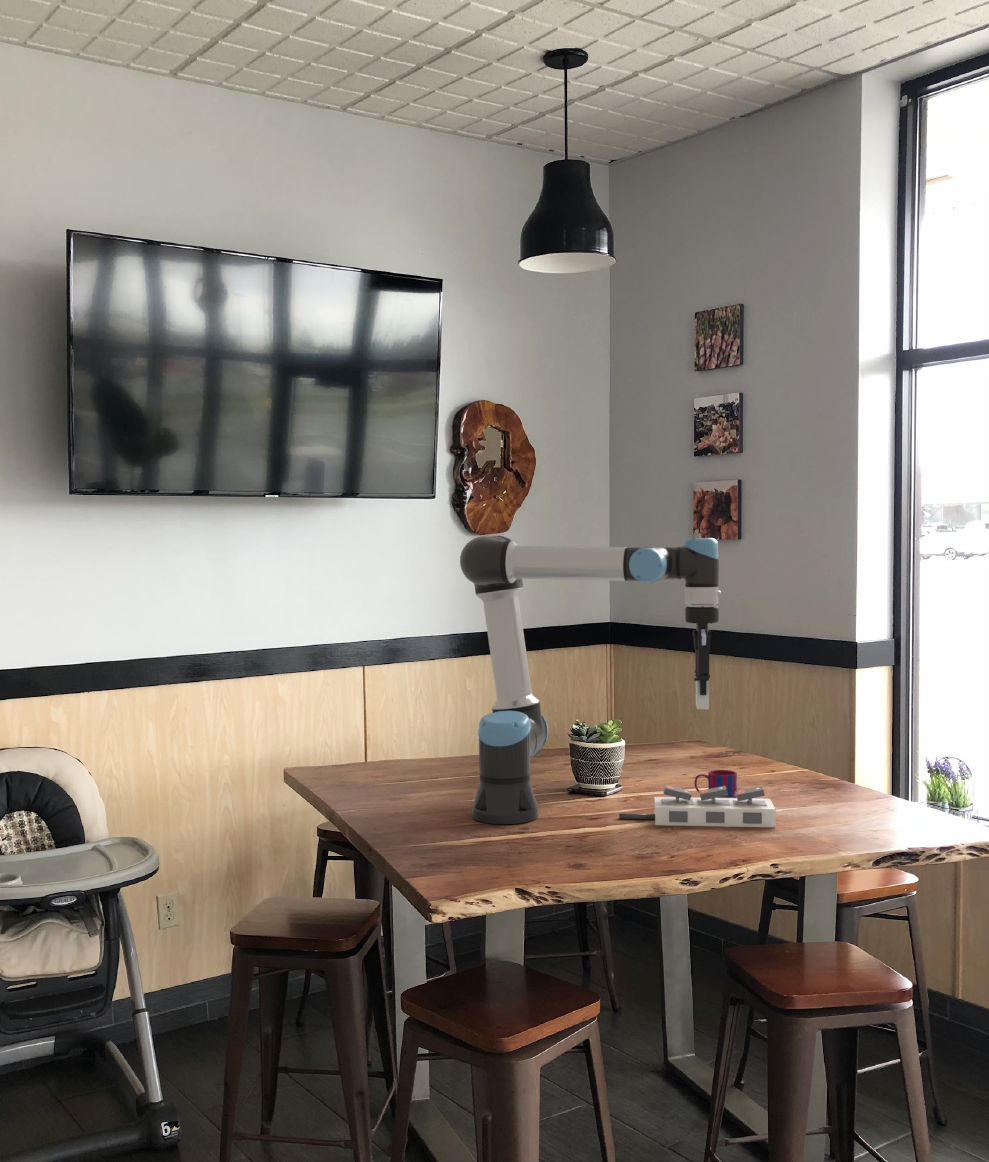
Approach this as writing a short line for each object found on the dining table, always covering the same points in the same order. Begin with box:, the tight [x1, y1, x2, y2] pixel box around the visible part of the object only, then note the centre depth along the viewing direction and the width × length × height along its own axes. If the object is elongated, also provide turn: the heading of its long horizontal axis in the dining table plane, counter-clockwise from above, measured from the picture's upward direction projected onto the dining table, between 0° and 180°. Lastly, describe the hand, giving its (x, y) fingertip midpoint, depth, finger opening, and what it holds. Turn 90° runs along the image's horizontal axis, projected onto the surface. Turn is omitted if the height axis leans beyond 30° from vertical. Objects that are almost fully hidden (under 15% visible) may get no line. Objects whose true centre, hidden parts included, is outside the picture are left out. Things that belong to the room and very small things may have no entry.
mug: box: [694, 769, 738, 798], centre depth 271 cm, size 7×10×7 cm
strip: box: [618, 796, 777, 828], centre depth 252 cm, size 34×10×5 cm, turn 83°
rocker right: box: [735, 786, 766, 801], centre depth 251 cm, size 6×4×2 cm, turn 83°
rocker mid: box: [698, 786, 728, 801], centre depth 252 cm, size 6×4×2 cm, turn 83°
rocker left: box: [662, 784, 692, 800], centre depth 253 cm, size 6×4×1 cm, turn 83°
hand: (702, 707), depth 257 cm, fingers open, 3 cm apart
